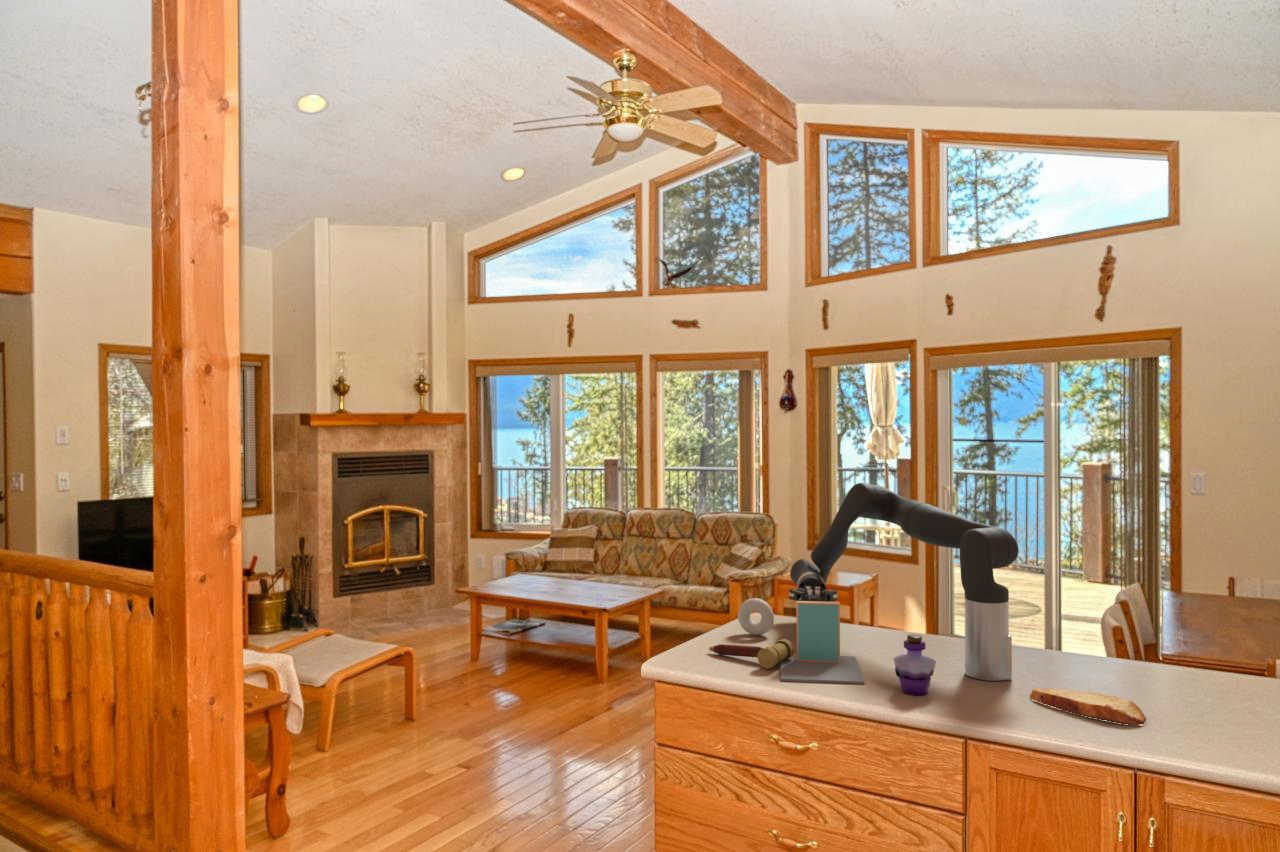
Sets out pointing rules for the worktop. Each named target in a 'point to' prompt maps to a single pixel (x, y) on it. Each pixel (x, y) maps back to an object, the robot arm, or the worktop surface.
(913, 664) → the potion bottle
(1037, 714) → the worktop surface
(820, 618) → the tile
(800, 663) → the mat
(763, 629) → the donut
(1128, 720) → the slice of bread
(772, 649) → the gavel
